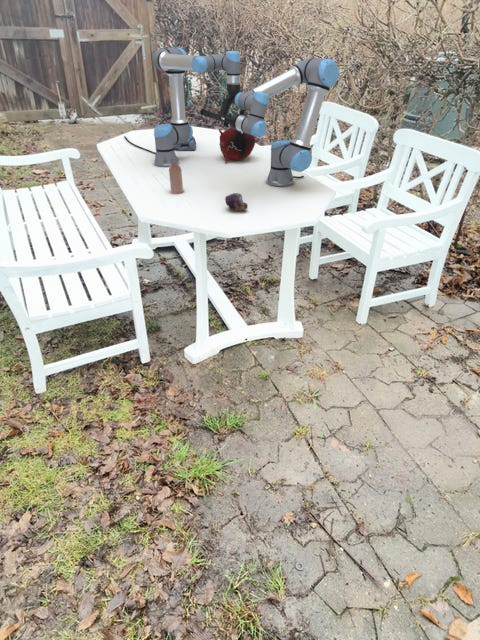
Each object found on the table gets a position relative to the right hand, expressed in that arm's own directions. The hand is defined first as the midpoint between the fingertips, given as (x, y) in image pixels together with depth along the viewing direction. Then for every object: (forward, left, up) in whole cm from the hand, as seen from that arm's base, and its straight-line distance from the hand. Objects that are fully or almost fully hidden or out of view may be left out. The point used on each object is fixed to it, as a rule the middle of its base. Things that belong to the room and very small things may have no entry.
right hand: (210, 113), depth 235 cm
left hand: (-17, -19, -10) cm, 27 cm away
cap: (+21, +5, -20) cm, 30 cm away
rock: (-3, +41, -38) cm, 56 cm away
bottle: (+22, +5, -38) cm, 44 cm away
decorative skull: (-26, -51, -38) cm, 69 cm away
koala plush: (+4, -89, -38) cm, 97 cm away
